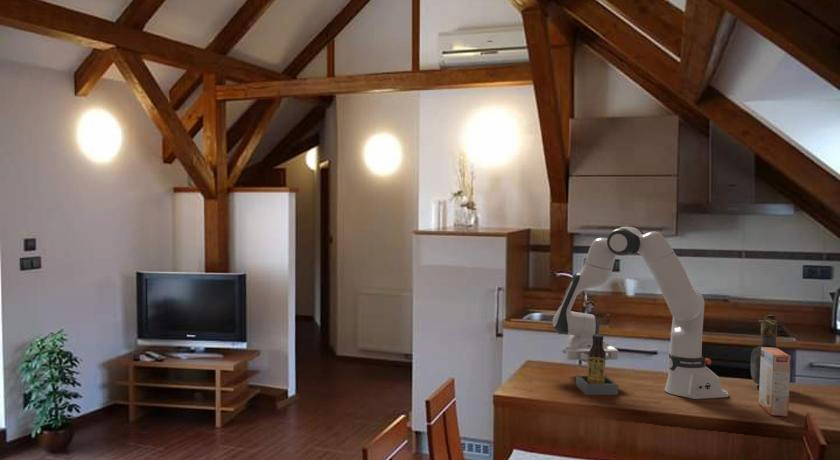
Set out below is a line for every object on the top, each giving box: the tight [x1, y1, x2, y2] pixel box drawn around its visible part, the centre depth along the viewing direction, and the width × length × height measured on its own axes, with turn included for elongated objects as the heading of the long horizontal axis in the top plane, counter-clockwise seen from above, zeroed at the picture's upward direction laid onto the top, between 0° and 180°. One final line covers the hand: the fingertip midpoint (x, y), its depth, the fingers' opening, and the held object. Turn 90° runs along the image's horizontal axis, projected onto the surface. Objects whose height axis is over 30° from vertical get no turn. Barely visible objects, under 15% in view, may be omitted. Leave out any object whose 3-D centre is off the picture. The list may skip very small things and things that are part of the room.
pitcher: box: [750, 311, 783, 391], centre depth 263 cm, size 11×19×30 cm, turn 163°
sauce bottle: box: [587, 334, 606, 384], centre depth 257 cm, size 6×6×20 cm
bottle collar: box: [575, 375, 619, 396], centre depth 257 cm, size 12×13×4 cm
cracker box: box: [758, 347, 792, 418], centre depth 234 cm, size 14×6×21 cm, turn 168°
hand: (597, 358), depth 256 cm, fingers closed on sauce bottle, 6 cm apart
